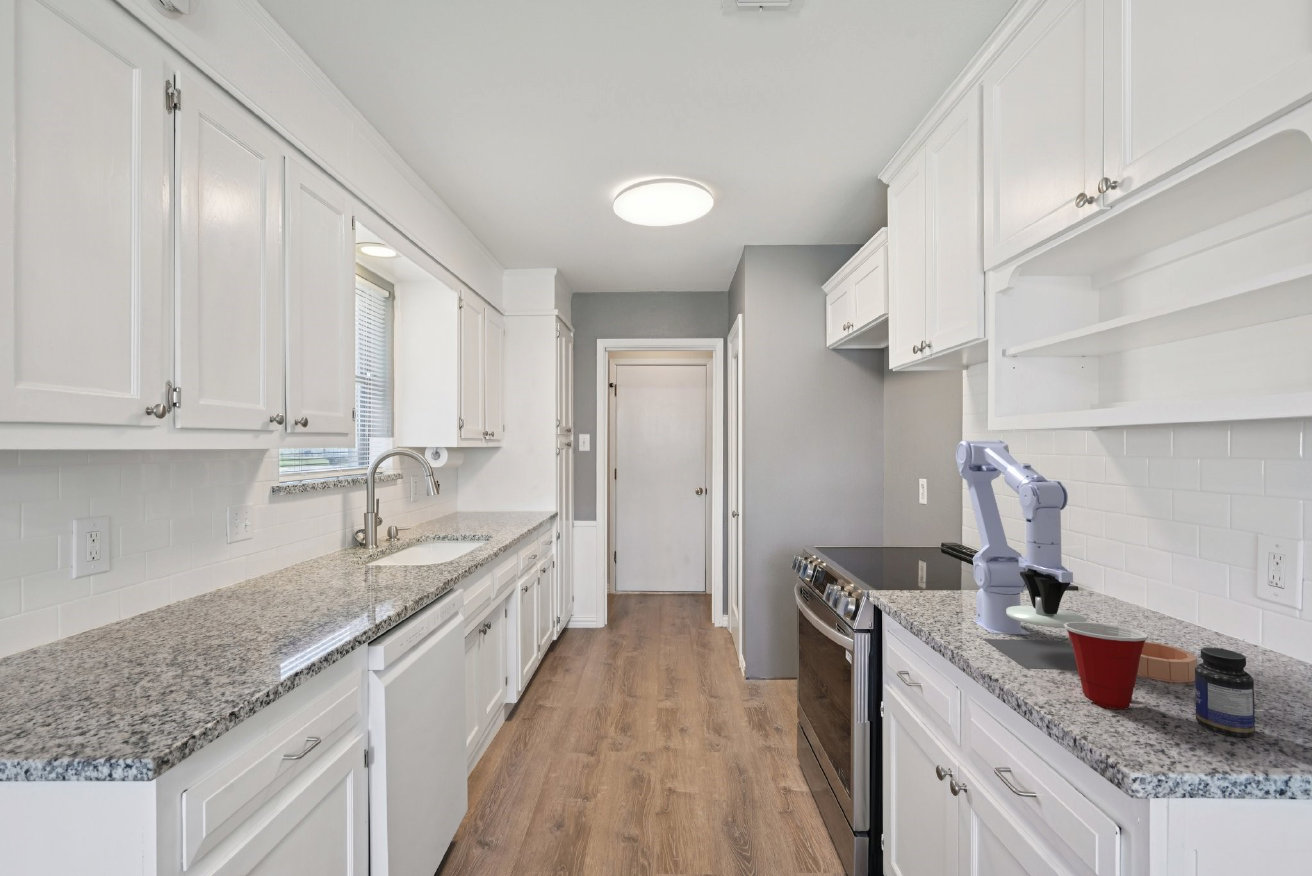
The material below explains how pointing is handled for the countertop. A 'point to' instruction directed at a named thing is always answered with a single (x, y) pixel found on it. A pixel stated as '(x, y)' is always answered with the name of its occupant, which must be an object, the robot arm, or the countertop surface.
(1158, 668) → the bowl
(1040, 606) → the lid
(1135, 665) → the plastic cup
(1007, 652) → the mat
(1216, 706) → the pill bottle
